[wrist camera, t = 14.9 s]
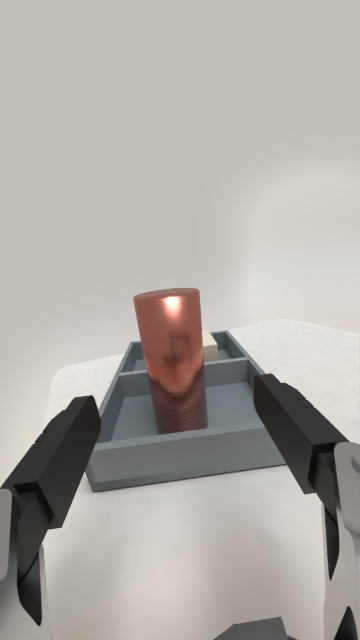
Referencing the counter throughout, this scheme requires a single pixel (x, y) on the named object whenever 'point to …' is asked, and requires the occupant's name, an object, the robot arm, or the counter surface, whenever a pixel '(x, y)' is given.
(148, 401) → the tray
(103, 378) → the counter surface
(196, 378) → the copper cylinder
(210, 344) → the cream block
